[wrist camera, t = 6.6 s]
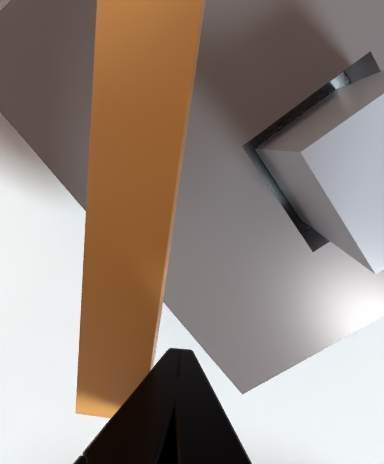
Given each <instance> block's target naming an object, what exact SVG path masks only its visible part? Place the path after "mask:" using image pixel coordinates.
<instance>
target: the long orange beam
mask: <svg viewBox="0 0 384 464" xmlns="http://www.w3.org/2000/svg"><path fill="white" fill-rule="evenodd" d="M205 2H206V0H97V11H96V31H95V50H94V69H93V88H92V107H91V127H90V146H89V165H88V184H87V204H86V223H85V242H84V261H83V280H82V300H81V319H80V338H79V357H78V376H77V396H76V413H77V414H84V415H92V416H99V417H106V418H112V417H113V415H114V414H115V413H116V412H117V411H118V409H119V408H120V407H121V406H122V405H123V403H124V402H125V401H126V400H127V399H128V397H129V396H130V395H131V394H132V392H133V391H134V390H135V389H136V388H137V386H138V385H139V384H140V383H141V382H142V380H143V379H144V378H145V377H146V376H147V374H148V373H149V372H150V371H151V370H152V368H153V367H154V360H155V353H156V346H157V339H158V332H159V325H160V318H161V311H162V304H163V297H164V290H165V283H166V276H167V269H168V262H169V255H170V248H171V241H172V234H173V227H174V220H175V213H176V206H177V199H178V192H179V185H180V178H181V171H182V164H183V157H184V150H185V143H186V136H187V129H188V122H189V115H190V108H191V101H192V94H193V87H194V80H195V73H196V65H197V58H198V51H199V44H200V37H201V30H202V23H203V16H204V9H205Z"/></svg>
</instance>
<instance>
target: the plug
mask: <svg viewBox="0 0 384 464" xmlns="http://www.w3.org/2000/svg"><path fill="white" fill-rule="evenodd" d="M255 150H256V152H257V154H258V155H259V157H260V158H261V160H262V161H263V163H264V164H265V166H266V167H267V169H268V170H269V172H270V173H271V175H272V176H273V178H274V179H275V181H276V183H277V184H278V186H279V187H280V189H281V190H282V192H283V193H284V195H285V196H286V198H287V199H288V201H289V202H290V204H291V205H292V207H293V208H294V210H295V212H296V213H297V215H298V216H299V218H300V219H301V220H302V221H303V222H304V223H306V224H307V225H308V226H310V227H311V228H313V229H314V230H315V231H317V232H318V233H319V234H321V235H322V236H324V237H325V238H326V239H328V240H329V241H330V242H332V243H333V244H335V245H336V246H337V247H339V248H340V249H341V250H343V251H344V252H346V253H347V254H348V255H350V256H351V257H352V258H354V259H355V260H357V261H358V262H359V263H361V264H362V265H363V266H365V267H366V268H368V269H369V270H370V271H372V272H373V273H374V274H377V273H379V272H380V271H382V270H384V70H383V71H380V72H378V73H375V74H373V75H370V76H368V77H365V78H363V79H360V80H358V81H355V82H353V83H351V84H348V85H346V86H343V87H341V88H338V89H336V90H334V91H333V92H332V93H330V94H329V95H328V96H326V97H325V98H323V99H322V100H321V101H319V102H318V103H317V104H315V105H314V106H313V107H311V108H310V109H308V110H307V111H306V112H304V113H303V114H302V115H300V116H299V117H298V118H296V119H295V120H293V121H292V122H291V123H289V124H288V125H287V126H285V127H284V128H283V129H281V130H280V131H278V132H277V133H276V134H274V135H273V136H272V137H270V138H269V139H267V140H266V141H265V142H263V143H262V144H261V145H259V146H258V147H257V148H255Z"/></svg>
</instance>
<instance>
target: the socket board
mask: <svg viewBox="0 0 384 464" xmlns="http://www.w3.org/2000/svg"><path fill="white" fill-rule="evenodd" d="M96 11H97V0H11V1H10V2H9V3H8V4H7V5H6V6H5V7H4V8H3V9H2V10H1V11H0V111H1V113H2V114H3V115H4V116H5V117H6V118H7V120H8V121H9V122H10V123H11V124H12V126H13V127H14V128H15V129H16V130H17V131H18V133H19V134H20V135H21V136H22V137H23V138H24V140H25V141H26V142H27V143H28V144H29V145H30V147H31V148H32V149H33V150H34V151H35V152H36V154H37V155H38V156H39V157H40V158H41V159H42V161H43V162H44V163H45V164H46V165H47V166H48V168H49V169H50V170H51V171H52V172H53V173H54V175H55V176H56V177H57V178H58V179H59V180H60V182H61V183H62V184H63V185H64V186H65V187H66V189H67V190H68V191H69V192H70V193H71V195H72V196H73V197H74V198H75V199H76V200H77V202H78V203H79V204H80V205H81V206H82V207H83V209H84V210H85V211H86V204H87V184H88V165H89V146H90V127H91V107H92V88H93V69H94V50H95V31H96ZM344 70H345V72H346V74H347V76H348V77H349V79H350V81H351V83H353V82H355V81H358V80H360V79H363V78H365V77H368V76H370V75H373V74H375V73H378V72H380V71H383V70H384V0H206V2H205V9H204V16H203V23H202V30H201V37H200V44H199V51H198V58H197V65H196V73H195V80H194V87H193V94H192V101H191V108H190V115H189V122H188V129H187V136H186V143H185V150H184V157H183V164H182V171H181V178H180V185H179V192H178V199H177V206H176V213H175V220H174V227H173V234H172V241H171V248H170V255H169V262H168V269H167V276H166V283H165V290H164V297H163V302H164V303H165V304H166V306H167V307H168V308H169V309H170V310H171V311H172V313H173V314H174V315H175V316H176V317H177V318H178V320H179V321H180V322H181V323H182V324H183V325H184V327H185V328H186V329H187V330H188V331H189V332H190V334H191V335H192V336H193V337H194V338H195V340H196V341H197V342H198V343H199V344H200V345H201V347H202V348H203V349H204V350H205V351H206V352H207V354H208V355H209V356H210V357H211V358H212V359H213V361H214V362H215V363H216V364H217V365H218V366H219V368H220V369H221V370H222V371H223V372H224V373H225V375H226V376H227V377H228V378H229V379H230V380H231V382H232V383H233V384H234V385H235V386H236V387H237V389H238V390H239V391H240V392H241V393H242V394H244V393H246V392H248V391H249V390H251V389H253V388H255V387H257V386H258V385H260V384H262V383H264V382H266V381H267V380H269V379H271V378H273V377H275V376H276V375H278V374H280V373H282V372H284V371H286V370H287V369H289V368H291V367H293V366H295V365H296V364H298V363H300V362H302V361H304V360H305V359H307V358H309V357H311V356H313V355H314V354H316V353H318V352H320V351H322V350H323V349H325V348H327V347H329V346H331V345H332V344H334V343H336V342H338V341H340V340H341V339H343V338H345V337H347V336H349V335H350V334H352V333H354V332H356V331H358V330H359V329H361V328H363V327H365V326H367V325H368V324H370V323H372V322H374V321H376V320H377V319H379V318H381V317H383V316H384V270H382V271H380V272H379V273H377V274H374V273H373V272H372V271H370V270H369V269H368V268H366V267H365V266H363V265H362V264H361V263H359V262H358V261H357V260H355V259H354V258H352V257H351V256H350V255H348V254H347V253H346V252H344V251H343V250H341V249H340V248H339V247H337V246H336V245H335V244H333V243H332V242H330V241H329V240H328V239H326V238H325V237H324V236H322V235H321V234H319V233H318V232H317V231H315V230H314V229H313V228H311V229H309V230H308V231H306V232H305V233H303V234H302V235H301V234H300V232H299V231H298V229H297V228H296V226H295V225H294V223H293V222H292V220H291V219H290V217H289V216H288V214H287V213H286V211H285V210H284V208H283V207H282V205H281V204H280V202H279V201H278V199H277V198H276V196H275V195H274V193H273V192H272V190H271V189H270V187H269V186H268V184H267V183H266V181H265V180H264V178H263V177H262V175H261V174H260V172H259V171H258V169H257V167H256V166H255V164H254V163H253V161H252V160H251V158H250V157H249V155H248V154H247V152H246V151H245V149H244V148H243V145H245V144H246V143H247V142H249V141H250V140H251V139H253V138H254V137H255V136H257V135H258V134H260V133H261V132H262V131H264V130H265V129H266V128H268V127H269V126H270V125H272V124H273V123H274V122H276V121H277V120H278V119H280V118H281V117H282V116H284V115H285V114H286V113H288V112H289V111H291V110H292V109H293V108H295V107H296V106H297V105H299V104H300V103H301V102H303V101H304V100H305V99H307V98H308V97H309V96H311V95H312V94H313V93H315V92H316V91H317V90H319V89H320V88H321V87H323V86H324V85H326V84H327V83H328V82H330V81H331V80H332V79H334V78H335V77H336V76H338V75H339V74H340V73H342V72H343V71H344Z"/></svg>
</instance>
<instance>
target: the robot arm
mask: <svg viewBox="0 0 384 464" xmlns="http://www.w3.org/2000/svg"><path fill="white" fill-rule="evenodd" d="M73 464H252V463H251V461H250V459H249V457H248V455H247V453H246V451H245V449H244V448H243V446H242V444H241V442H240V440H239V438H238V436H237V434H236V432H235V430H234V429H233V427H232V425H231V423H230V421H229V419H228V417H227V415H226V413H225V411H224V409H223V408H222V406H221V404H220V402H219V400H218V398H217V396H216V394H215V392H214V390H213V388H212V387H211V385H210V383H209V381H208V379H207V377H206V375H205V373H204V371H203V369H202V368H201V366H200V364H199V362H198V360H197V358H196V356H195V354H194V352H193V351H192V350H188V349H176V348H170V349H168V350H167V351H166V353H165V354H164V355H163V356H162V357H161V359H160V360H159V361H158V362H157V363H156V365H155V366H154V367H153V368H152V370H151V371H150V372H149V373H148V374H147V376H146V377H145V378H144V379H143V380H142V382H141V383H140V384H139V385H138V386H137V388H136V389H135V390H134V391H133V392H132V394H131V395H130V396H129V397H128V399H127V400H126V401H125V402H124V403H123V405H122V406H121V407H120V408H119V409H118V411H117V412H116V413H115V414H114V415H113V417H112V418H111V419H110V420H109V421H108V423H107V424H106V425H105V426H104V427H103V429H102V430H101V431H100V432H99V434H98V435H97V436H96V437H95V438H94V440H93V441H92V442H91V443H90V444H89V446H88V447H87V448H86V449H85V450H84V452H83V456H79V457H78V459H77V460H76V461H75V462H74V463H73Z"/></svg>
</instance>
